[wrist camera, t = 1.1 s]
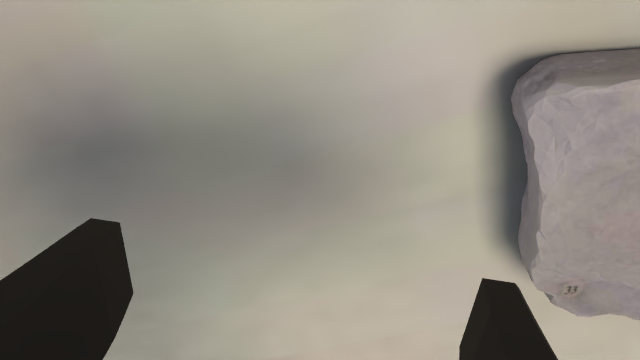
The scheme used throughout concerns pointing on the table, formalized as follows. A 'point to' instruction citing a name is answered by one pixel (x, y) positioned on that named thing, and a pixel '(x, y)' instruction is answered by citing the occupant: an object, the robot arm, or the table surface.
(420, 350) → the table surface
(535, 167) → the stone block
